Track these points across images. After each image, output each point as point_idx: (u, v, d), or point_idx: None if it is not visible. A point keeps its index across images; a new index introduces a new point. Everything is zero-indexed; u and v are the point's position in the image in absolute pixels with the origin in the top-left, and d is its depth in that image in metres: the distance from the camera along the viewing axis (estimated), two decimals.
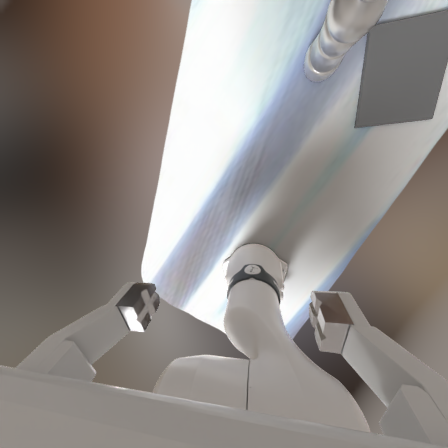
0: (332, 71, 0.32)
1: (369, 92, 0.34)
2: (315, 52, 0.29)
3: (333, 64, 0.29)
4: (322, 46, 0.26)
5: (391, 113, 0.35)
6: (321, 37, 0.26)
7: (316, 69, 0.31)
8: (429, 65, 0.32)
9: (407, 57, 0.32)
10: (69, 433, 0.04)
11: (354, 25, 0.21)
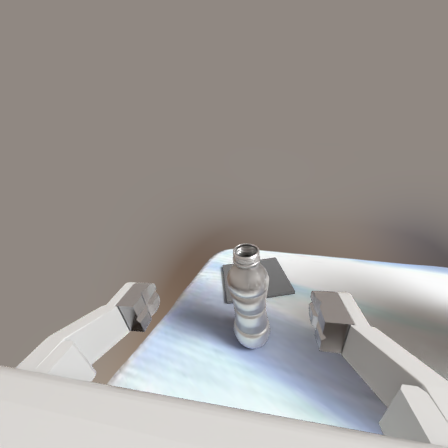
0: None
1: None
2: (258, 323, 0.29)
3: None
4: (261, 309, 0.28)
5: (278, 274, 0.46)
6: (255, 310, 0.27)
7: (266, 324, 0.30)
8: None
9: None
10: (69, 433, 0.04)
11: (264, 271, 0.26)
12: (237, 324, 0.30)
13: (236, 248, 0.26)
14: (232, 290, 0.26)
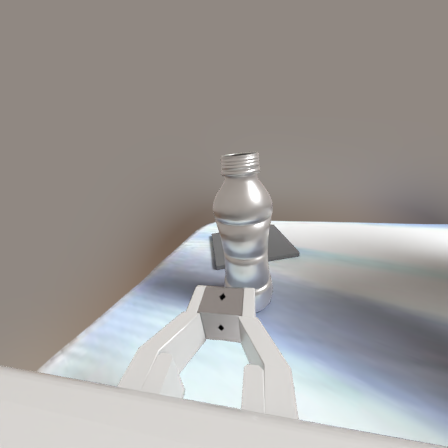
0: None
1: None
2: (258, 271, 0.20)
3: None
4: (261, 249, 0.19)
5: (278, 238, 0.39)
6: (254, 249, 0.19)
7: (268, 278, 0.22)
8: None
9: None
10: (69, 433, 0.04)
11: (266, 191, 0.19)
12: (229, 278, 0.22)
13: None
14: (220, 216, 0.18)
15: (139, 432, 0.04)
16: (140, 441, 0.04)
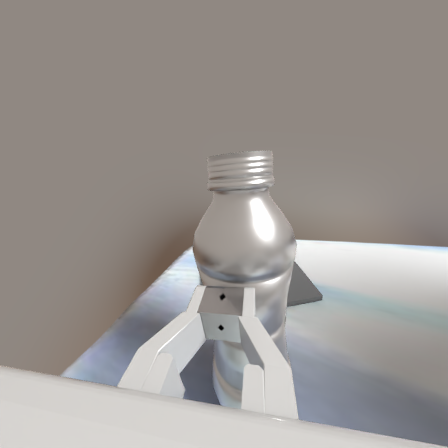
0: None
1: None
2: None
3: None
4: (277, 322, 0.11)
5: None
6: (265, 323, 0.10)
7: None
8: None
9: None
10: (69, 433, 0.04)
11: None
12: (219, 365, 0.13)
13: None
14: (203, 262, 0.10)
15: (139, 432, 0.04)
16: (140, 441, 0.04)
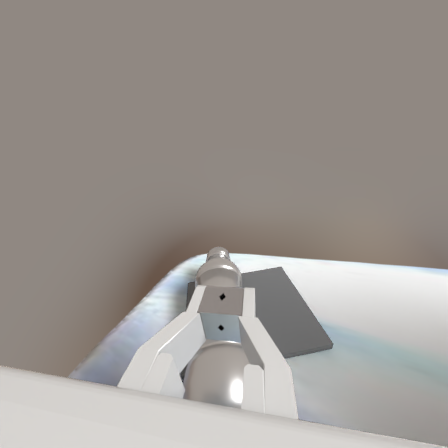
0: None
1: (273, 341, 0.19)
2: None
3: None
4: None
5: (290, 301, 0.24)
6: None
7: None
8: None
9: None
10: (69, 433, 0.04)
11: None
12: None
13: None
14: (195, 277, 0.24)
15: (139, 432, 0.04)
16: (140, 441, 0.04)
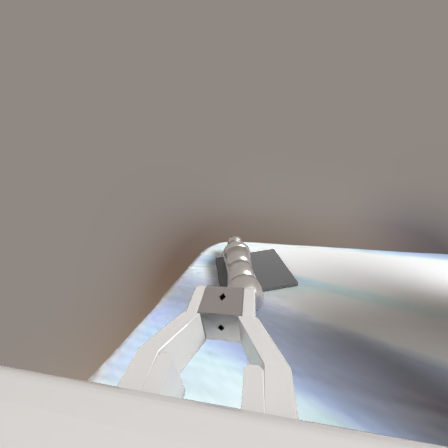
0: None
1: (267, 282, 0.37)
2: (240, 266, 0.35)
3: None
4: (241, 257, 0.37)
5: (278, 266, 0.42)
6: (236, 256, 0.38)
7: (251, 274, 0.33)
8: None
9: None
10: (69, 433, 0.04)
11: None
12: None
13: None
14: (223, 252, 0.42)
15: (139, 432, 0.04)
16: (140, 441, 0.04)
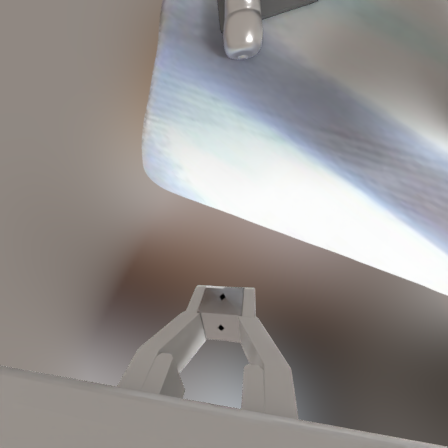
0: None
1: None
2: None
3: None
4: None
5: None
6: None
7: (252, 5, 0.26)
8: None
9: None
10: (69, 433, 0.04)
11: None
12: None
13: None
14: None
15: (139, 432, 0.04)
16: (140, 441, 0.04)
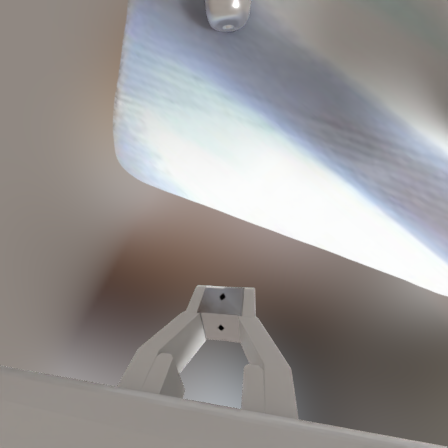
0: None
1: None
2: None
3: None
4: None
5: None
6: None
7: None
8: None
9: None
10: (69, 433, 0.04)
11: None
12: None
13: None
14: None
15: (139, 432, 0.04)
16: (140, 441, 0.04)
